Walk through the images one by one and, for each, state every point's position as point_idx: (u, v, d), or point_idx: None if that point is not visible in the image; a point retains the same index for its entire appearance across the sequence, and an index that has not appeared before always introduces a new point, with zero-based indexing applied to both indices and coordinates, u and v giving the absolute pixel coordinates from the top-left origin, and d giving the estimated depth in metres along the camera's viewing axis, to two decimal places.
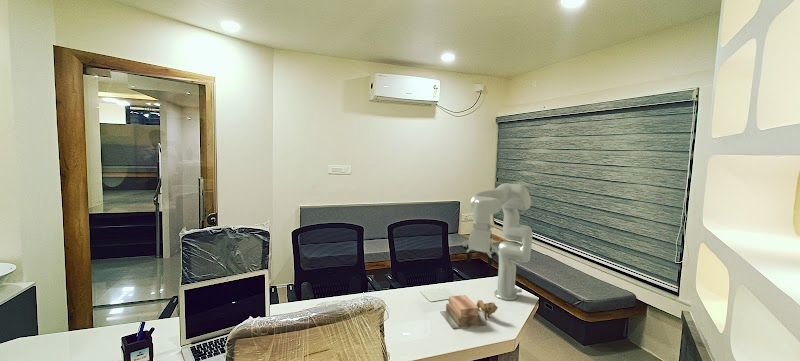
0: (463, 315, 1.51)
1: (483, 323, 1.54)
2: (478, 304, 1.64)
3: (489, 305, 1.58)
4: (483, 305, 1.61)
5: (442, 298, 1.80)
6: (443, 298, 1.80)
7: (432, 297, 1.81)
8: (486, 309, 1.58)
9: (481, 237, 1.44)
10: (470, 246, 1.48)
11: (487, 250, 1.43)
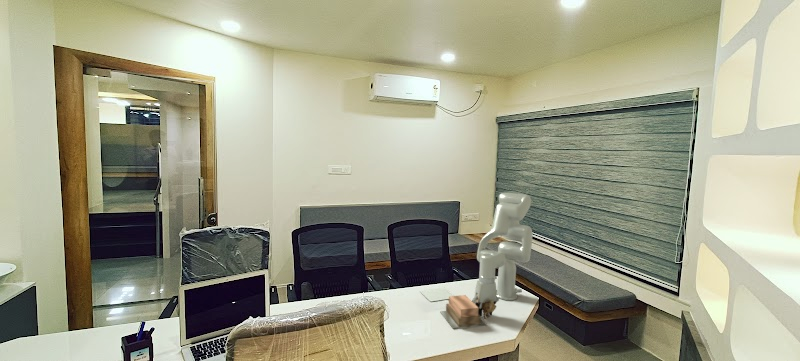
0: (463, 315, 1.51)
1: (483, 323, 1.54)
2: None
3: (488, 304, 1.58)
4: (482, 304, 1.62)
5: (442, 298, 1.80)
6: (443, 298, 1.80)
7: (432, 297, 1.81)
8: (485, 308, 1.59)
9: (491, 289, 1.60)
10: (480, 300, 1.59)
11: (495, 299, 1.61)
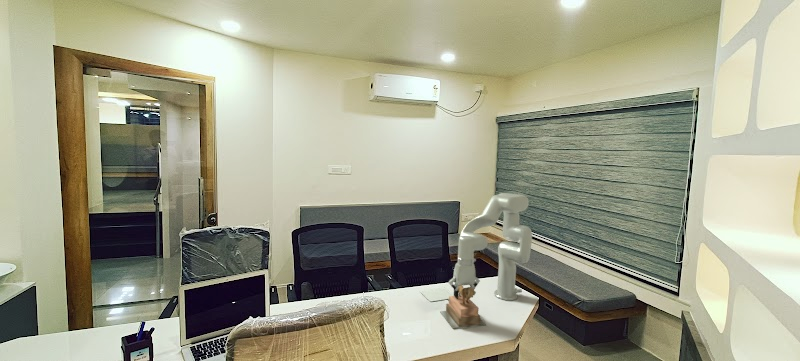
0: (463, 315, 1.51)
1: (483, 323, 1.54)
2: (458, 289, 1.61)
3: (467, 289, 1.54)
4: (462, 290, 1.58)
5: (442, 298, 1.80)
6: (443, 298, 1.80)
7: (432, 297, 1.81)
8: (464, 293, 1.55)
9: (469, 272, 1.55)
10: (459, 283, 1.55)
11: (474, 282, 1.57)
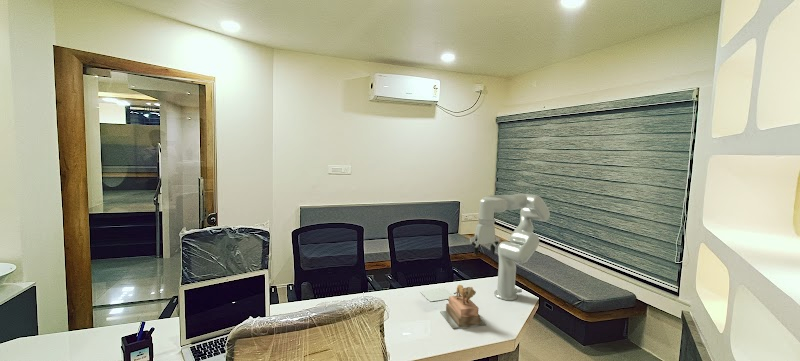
0: (463, 315, 1.51)
1: (483, 323, 1.54)
2: (458, 289, 1.61)
3: (467, 289, 1.54)
4: (462, 290, 1.58)
5: (442, 298, 1.80)
6: (443, 298, 1.80)
7: (432, 297, 1.81)
8: (464, 293, 1.55)
9: (490, 231, 1.69)
10: (480, 241, 1.69)
11: (493, 241, 1.71)
